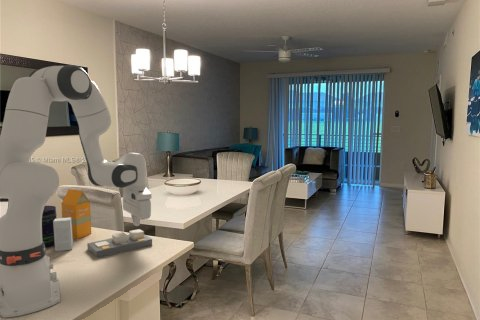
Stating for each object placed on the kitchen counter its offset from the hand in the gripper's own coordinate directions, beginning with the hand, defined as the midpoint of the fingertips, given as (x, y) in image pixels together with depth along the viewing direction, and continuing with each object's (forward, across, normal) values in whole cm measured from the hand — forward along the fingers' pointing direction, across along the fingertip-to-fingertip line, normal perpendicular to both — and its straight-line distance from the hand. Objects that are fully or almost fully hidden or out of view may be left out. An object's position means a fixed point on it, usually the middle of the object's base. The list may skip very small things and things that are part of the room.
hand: (136, 225), depth 149 cm
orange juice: (+8, -26, -16) cm, 32 cm away
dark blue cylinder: (+8, -21, -30) cm, 38 cm away
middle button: (+5, 0, -7) cm, 9 cm away
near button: (+8, 0, -14) cm, 16 cm away
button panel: (+8, +1, -7) cm, 10 cm away
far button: (+5, 0, 0) cm, 5 cm away
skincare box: (+8, -11, -25) cm, 29 cm away
